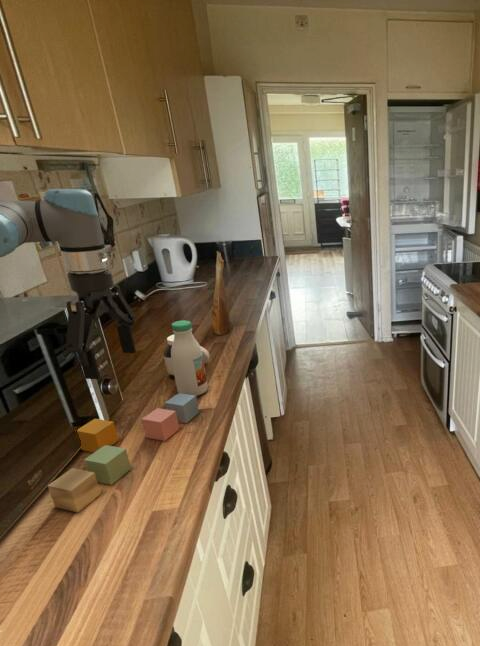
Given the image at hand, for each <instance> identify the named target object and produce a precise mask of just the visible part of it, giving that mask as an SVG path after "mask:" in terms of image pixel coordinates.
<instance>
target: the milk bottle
mask: <svg viewBox="0 0 480 646" xmlns="http://www.w3.org/2000/svg"><path fill="white" fill-rule="evenodd" d="M192 325H193V324H192V323H191V321H190V320H183V319H182V320H177V321H174V322H172V323H171V329H172V333H173V335H174V341H173V345H172V348H171V359H172V365H173V370H174V376H175V377H174V380H175V385H176V391H177V394H178V393H182V394H188V395H195V396H196V397H198V396H200V395H201V396H202V395H203V394H205V393H206V392H207V390H208V388H209V386H208V379H207V372H206V366H205V363H204V360H203V355H202V350H201V347H202V346H201V345H200V344H199V342H198V341H197V339H196V338H195V336H194V334H193V332H192V331H193V327H192ZM200 346H201V347H200Z"/></svg>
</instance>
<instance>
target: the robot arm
mask: <svg viewBox="0 0 480 646" xmlns="http://www.w3.org/2000/svg"><path fill="white" fill-rule="evenodd" d="M44 194H45V197H44V199H41V200H0V258H4V257H5V256H8V255H10V254H12V253H13V252H15V251H16V249H17V248H19V247H20V246H22V245H24V244H29V243H53V242H57V243H58V246H59V251H60V254H61V258H62V263H63V267H64V269H65V270H66V271H67V272H68V273H67V274H66V276H67V279H68V283H69V287H70V290H71V291H72V292H74V293H76V294H77V300H76V301H75V300H74V301H72V300H71V301H69V300H68V301H67V302H66V309H67V314H68V315H67V326H66V327H67V328H66V329H67V331H66V341H65V342H66V343H65V350H66V352H68V353H76V355H77V358H78V361H79V365H80V367H81V368H82V371H83V376H84V378H85V380H100V379H101V374H100V370H99V366H98V362H97V359H96V355H95V352H94V349H93V348H90V347H91V343H92V340H93V335H94V331H95V327H96V323H97V321H99V319H100V317H101V316H103V314H107V315H108V316H109V317H110V318H111V319H112V320H113V321H115V322H116V323H117V325H118V326H116V329H117V333H118V337H119V342H120V346H121V351H122V354H135V353H137V350H136V345H135V341H134V336H133V331H132V326H135V325H136V321H135V320H136V315H135V313H134V312H133V310H132V308H131V307H130V304H129V303H128V302H127V300H126V298H125V297H124V296H123V293H122V291H121V287H120V285H115V283H114V278H113V275H112V271H111V270H110V269H109V267H110V263H109V258H108V255H107V250H106V245H105V240H104V235H103V230H102V227H101V226H102V225H101V222H100V217H99V212H98V210H97V207H96V204H95V200H94V196H93V194H92V193H91V192H90V191H89V190H87V189H83V188H52V189H51V188H49V189H46V190H45V193H44Z"/></svg>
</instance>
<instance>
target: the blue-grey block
mask: <svg viewBox="0 0 480 646" xmlns="http://www.w3.org/2000/svg"><path fill="white" fill-rule="evenodd" d="M164 406H165V409H166V410H173V411H176V415H177V420H178V423H181V424H188V423H189V422H190V421H192V419H193V418H195V417H196V416H197V415H198V414H200V411H199V405H198V399H197V396H195V395H188V394H182V393H178V392H177V394H175V395H174V396H172V397H170V398H169V399H168V400H166V401H165V402H164Z"/></svg>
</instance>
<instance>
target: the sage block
mask: <svg viewBox="0 0 480 646" xmlns="http://www.w3.org/2000/svg"><path fill="white" fill-rule="evenodd" d="M83 462H84V465H85V468H86V471H89V472H94V473H95V476H96V479H97V482H98V483H101V484H105V485H112V486H113V485H114V484H115V483H116V482H117V481H118V480H120V479H121V478H122V477H123V476H125V475H126V474H127V473H128V472H129V471H131V469H132V466H131V463H130V459H129V455H128V451H127V448H123V447H118V446H114V445H112V446H108V445H104V446H103V447H101V448H100V449H99V450H97V451H96V452H92V454H90V455H89V456H87V457H86V458H85V459H84V460H83Z"/></svg>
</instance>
